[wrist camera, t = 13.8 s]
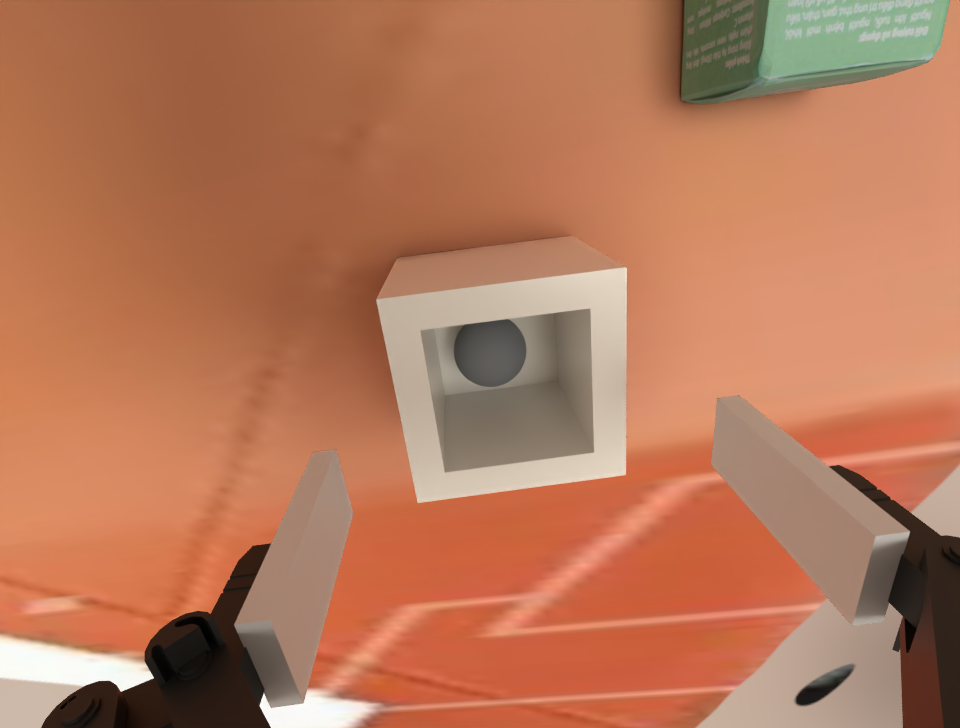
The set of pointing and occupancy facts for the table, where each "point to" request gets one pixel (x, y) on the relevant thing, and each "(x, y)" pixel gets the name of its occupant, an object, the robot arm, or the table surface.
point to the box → (801, 44)
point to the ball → (490, 352)
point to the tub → (537, 387)
